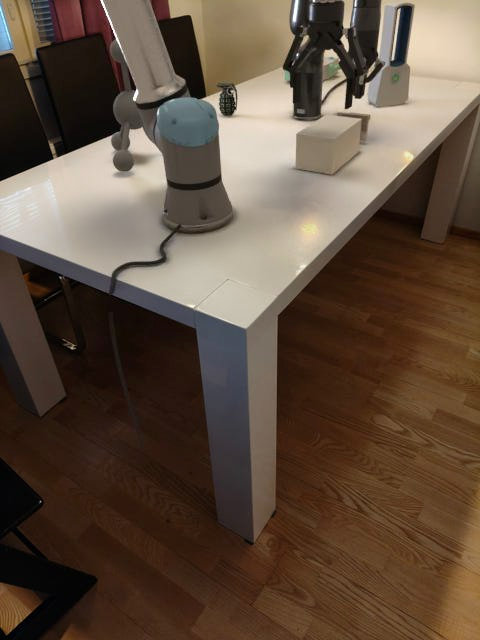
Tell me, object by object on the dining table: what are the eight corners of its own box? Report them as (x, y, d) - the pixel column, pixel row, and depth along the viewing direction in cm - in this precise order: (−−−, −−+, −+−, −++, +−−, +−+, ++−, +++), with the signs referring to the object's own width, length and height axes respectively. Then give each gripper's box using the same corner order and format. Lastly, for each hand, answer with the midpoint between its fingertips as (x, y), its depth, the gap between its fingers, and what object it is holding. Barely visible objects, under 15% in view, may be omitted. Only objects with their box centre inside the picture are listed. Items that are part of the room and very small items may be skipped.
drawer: (344, 130, 147) (346, 106, 143) (373, 134, 143) (376, 110, 139) (312, 154, 133) (313, 128, 128) (343, 159, 128) (346, 132, 124)
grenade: (217, 117, 168) (214, 86, 162) (221, 112, 172) (219, 82, 166) (235, 117, 166) (233, 86, 160) (239, 113, 171) (238, 82, 165)
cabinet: (324, 147, 139) (325, 114, 134) (358, 152, 135) (361, 118, 129) (295, 168, 128) (296, 133, 122) (332, 174, 123) (334, 138, 117)
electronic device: (375, 107, 168) (387, 4, 150) (365, 102, 174) (375, 2, 155) (407, 103, 170) (423, 1, 152) (396, 98, 176) (410, -1, 158)
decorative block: (306, 53, 217) (348, 56, 208) (306, 69, 221) (346, 73, 212) (276, 65, 201) (319, 68, 192) (276, 82, 205) (318, 86, 196)
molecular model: (197, 163, 134) (184, 38, 115) (117, 178, 128) (90, 49, 109) (174, 139, 151) (159, 27, 133) (103, 151, 145) (77, 36, 127)
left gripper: (389, -2, 102) (377, 105, 115) (283, -2, 113) (283, 96, 126) (377, 2, 97) (365, 114, 110) (268, 2, 108) (269, 103, 121)
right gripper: (394, 25, 126) (385, 97, 136) (346, 24, 131) (341, 93, 142) (385, 29, 121) (376, 103, 131) (335, 28, 127) (330, 99, 137)
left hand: (321, 105), depth 118 cm, fingers open, 13 cm apart
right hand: (358, 98), depth 137 cm, fingers closed
